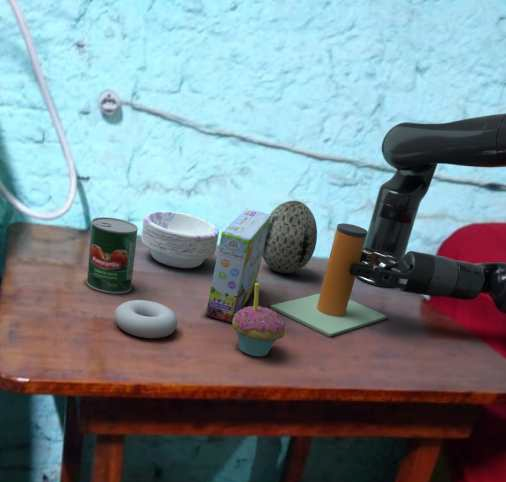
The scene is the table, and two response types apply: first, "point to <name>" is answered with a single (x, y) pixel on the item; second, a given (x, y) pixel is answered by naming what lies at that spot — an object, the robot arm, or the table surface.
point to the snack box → (237, 264)
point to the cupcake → (257, 327)
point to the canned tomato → (111, 255)
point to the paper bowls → (179, 238)
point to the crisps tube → (341, 269)
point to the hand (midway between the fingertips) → (345, 260)
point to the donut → (145, 319)
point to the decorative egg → (290, 237)
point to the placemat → (326, 324)
